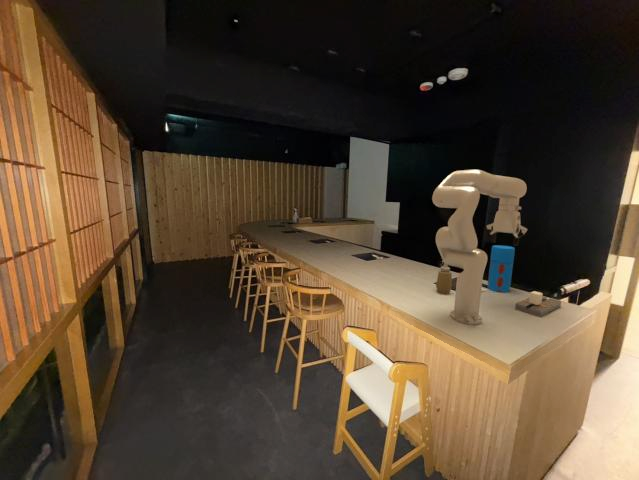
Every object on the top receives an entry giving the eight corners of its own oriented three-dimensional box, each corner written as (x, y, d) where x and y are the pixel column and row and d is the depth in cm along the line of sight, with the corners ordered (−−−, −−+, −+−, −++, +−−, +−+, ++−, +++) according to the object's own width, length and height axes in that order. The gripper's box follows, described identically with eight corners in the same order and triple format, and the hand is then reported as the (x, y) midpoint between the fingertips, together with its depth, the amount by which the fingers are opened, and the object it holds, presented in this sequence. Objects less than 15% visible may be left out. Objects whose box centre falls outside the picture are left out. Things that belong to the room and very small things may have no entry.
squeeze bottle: (449, 296, 144) (452, 263, 141) (433, 293, 149) (436, 261, 146) (452, 292, 150) (455, 260, 147) (437, 289, 155) (439, 258, 152)
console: (535, 300, 139) (536, 294, 139) (560, 306, 131) (561, 300, 130) (515, 309, 128) (515, 302, 128) (540, 317, 120) (541, 310, 119)
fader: (532, 303, 130) (534, 291, 129) (541, 305, 127) (542, 293, 126) (528, 304, 128) (530, 292, 127) (537, 307, 125) (539, 294, 124)
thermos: (487, 290, 153) (492, 247, 148) (486, 285, 162) (491, 244, 158) (511, 294, 148) (516, 249, 143) (508, 288, 157) (513, 246, 153)
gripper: (533, 209, 121) (528, 246, 124) (493, 207, 136) (489, 241, 139) (525, 209, 118) (520, 248, 121) (484, 208, 132) (481, 242, 135)
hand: (503, 244), depth 130 cm, fingers open, 9 cm apart
